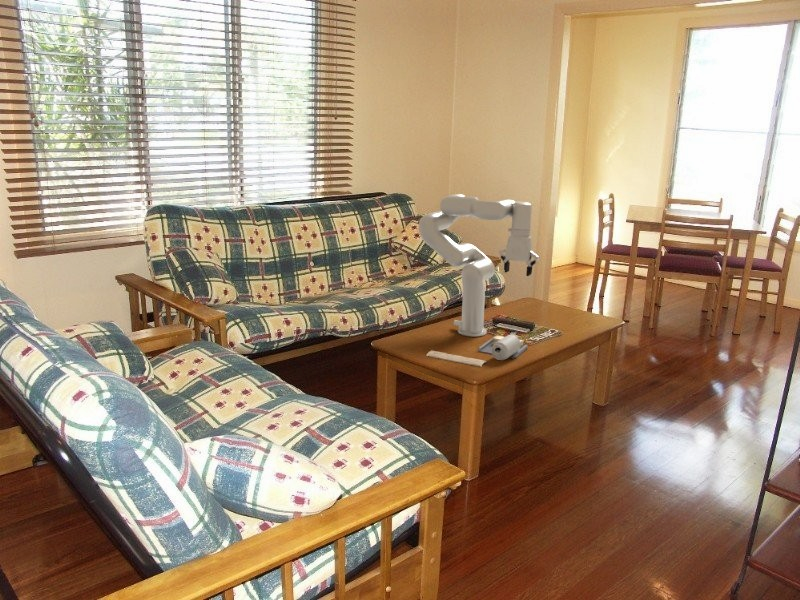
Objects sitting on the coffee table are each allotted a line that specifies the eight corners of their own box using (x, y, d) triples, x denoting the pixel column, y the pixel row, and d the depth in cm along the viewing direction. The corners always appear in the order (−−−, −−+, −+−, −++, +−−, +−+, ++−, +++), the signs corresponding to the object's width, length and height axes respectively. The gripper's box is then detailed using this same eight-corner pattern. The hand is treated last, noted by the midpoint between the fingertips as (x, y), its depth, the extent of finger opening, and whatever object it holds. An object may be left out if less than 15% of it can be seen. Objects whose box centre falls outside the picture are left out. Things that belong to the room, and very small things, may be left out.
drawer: (478, 351, 288) (478, 348, 288) (491, 341, 300) (491, 338, 300) (515, 358, 281) (515, 355, 280) (527, 348, 293) (527, 345, 292)
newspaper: (426, 357, 283) (426, 353, 282) (434, 352, 289) (434, 348, 288) (481, 368, 272) (481, 364, 272) (488, 363, 278) (488, 358, 278)
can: (517, 332, 283) (501, 341, 274) (524, 349, 283) (508, 359, 275) (503, 335, 288) (486, 345, 279) (509, 353, 288) (493, 363, 280)
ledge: (492, 345, 296) (492, 338, 295) (495, 342, 299) (496, 335, 298) (519, 350, 290) (520, 343, 289) (522, 347, 294) (523, 340, 293)
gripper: (497, 231, 289) (494, 272, 294) (537, 236, 281) (533, 278, 285) (504, 228, 295) (502, 268, 300) (544, 234, 287) (540, 275, 291)
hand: (517, 273), depth 293 cm, fingers open, 9 cm apart
